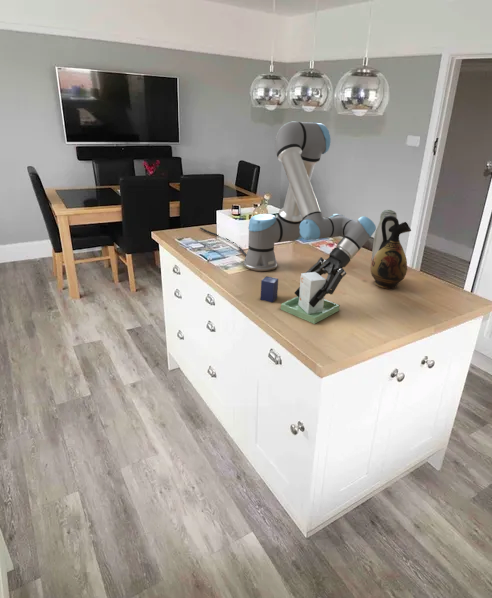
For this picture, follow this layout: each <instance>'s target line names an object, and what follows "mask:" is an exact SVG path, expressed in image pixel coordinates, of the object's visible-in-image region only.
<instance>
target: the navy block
mask: <svg viewBox="0 0 492 598" xmlns="http://www.w3.org/2000/svg"><path fill="white" fill-rule="evenodd" d="M278 290H279V278H276V277H271V276H265V277H264V278H262V279H261V280H260V300H261V301H264V302H269V303H273V302H275V300H276V299H278Z"/></svg>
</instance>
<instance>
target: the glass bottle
mask: <svg viewBox="0 0 492 598" xmlns="http://www.w3.org/2000/svg"><path fill="white" fill-rule="evenodd" d="M387 216H394V217H396V218H397V219H398V215H397V212H396V211H395V210H392V209H385V210H383V211H382V212H381V213H380V217H379V221H378V225H377V226H376V230H375V232H374V234H373V235H374V236H373V244H372V250H371V261H372V260H373V258H374V256H375V254H376V253H377V251H378V250H379V248H380V245H381V244H382V242H383V236H382V228H381V227H382V221H383V219H384V218H385V217H387ZM393 225H394V222H393V221H387V222H386V235H387V240H388V239H389V238H390V236H391V234H392V233H391V232H389V228H390V227H391V226H393Z"/></svg>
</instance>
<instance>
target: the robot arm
mask: <svg viewBox="0 0 492 598" xmlns="http://www.w3.org/2000/svg"><path fill="white" fill-rule="evenodd" d="M331 142H332V139H331V134H330V131H329V129H328V127H327V126H326V125H325V124H323V123H319V122H315V121H312V122H309V121H308V122H307V121H296V120H293V121H289V122H286V123H284V124H283V125H282V126H281V127H280V128H279V129H278V131H277V134H276V136H275V140H274V150H275V154H276V158H277V159H278V160H277V161H279V163H282V166H283V168H284V171H285V174H286V177H287V180H288V186H287V191H286V194H285V198H284V202H283V206H282V208H280V209H279V210H278V213H277V216H276V215H275V214H272V213H259V214H255V215H253V216H251V218H250V219H249V221H248V249H247V252H245V251H244V250H243V249H242V247H241V246H240V247H241V248H240V247H238V249H239V251H240V252H241V253H242V254H243V255H244V257H245V258H244V259H243V266H244V268H246V269H248V270H250V271H253V272H271V271H275V270H276V269H277V267H278V260H277V259H276V253H275V244H278V243H286V242H295V241H299V240H300V239H303V240H305V241H317V240H322V239H331V238H339V237H341V238H342V239H340V240H339V242H338V243H337V244H336V247H334V248H333V249H332V250H331V251H330V253H328V255H329V256H328V257H327V258H326V259H324V258H323V257H320V258H319V259H318V260H317V261H316V263H315V264H313V265H312V266H311V267H310V268H309V269H308V270H307V271H306V272H305V273H309V272H316V273H318V274H319V275H321V276H322V275H326V274H327V276H326V278H325V279H326V283H325V284H324V287H323V288H321V289H322V290H323V291H322V290H321V289H320V290H319V291H318V292H317V293H316V295H315V296H314V297H313V298H312V299H311V301H310V302H309V304H310V305H311V306H312V307H315V305H316V304H317V303H318V302H319V301H320V300H322V299H323V297H324V298H325V296H326V295H328V294H330V295H333V294H334V293H335V291H336V289H337V288H338V286H339V284H340V283H341V281H342V279H343V278H344V277H345V276H346V275H347V272H346V270H345V269H344V268H346V267H347V266H348V264H349V263H351V259H353V258H354V257H355V256H356V255H357V253H358V252H359V251H360V250H361V249H362V248H363V246H364V245H365V244H366V243H367V242H368V240H370V239H371V237H373V235H374V234H375V232H376V229H377V225H376V224H375V223H374V221H373V220H371V219H370V218H369V217H368V216H366V215H363V216H360V217H359V218H357V220H356V219H353V218H350V217H347V216H345V215H343V214H339V213H333V214H331V216H329V217H324V216H323V214H322V211H321V208H320V206H319V203H318V200H317V197H316V194H315V192H314V191H315V190H314V189H313V185H312V183H311V180H312V176H313V172H314V168H315V166H316V164H317V163H319V162H320V160H321V157H322V155H325V154H326V153H327V152H329V150H330V147H331ZM199 229H200V230H201V231H204V232H206V233H208V234H211V235H212V236H216V237H218V236H217V234H218V233H215V232H212V231H209V230H207V229H205V228H203V227H199ZM299 291H300V286H299V287H298V288H297V289H296V290H295V291H294V294H295V296H296V297H297V296H298V297H299Z"/></svg>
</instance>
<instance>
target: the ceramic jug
mask: <svg viewBox="0 0 492 598" xmlns="http://www.w3.org/2000/svg"><path fill="white" fill-rule="evenodd" d="M387 221H393V222H394V225H393V226H391V227H390V228H389V232H391V233H392V234H391V236H390V238H389V239H388V240H387V235H386V222H387ZM381 228H382V236H383V242H382V244H381V245H380V248H379V250H378V251H377V253H376V254H375V256H374V258H373V260H372V259H371V262H370V266H369V267H370V268H369V269H370V274H371V277H372V278H373V279H374V285H376V286H377V287H378V288H382V289H385V290H394V289H397V285H398V284H400V283H401V282H402V281H404V279H405V277H406V275H407V271H408V260H407V255H406V253H405V251H404V248H403V246H402V243H401V241H400V235H401V234H404V233H410V232H412V229H411V227H410V226H409V223H407V221H403V222H401V223H400V222H399V219H398V217H397V218H396V217H394V216H387V217H385V218H384V219H383V221H382V227H381Z"/></svg>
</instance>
